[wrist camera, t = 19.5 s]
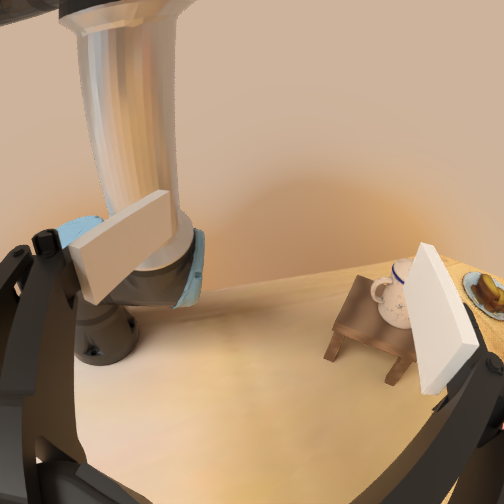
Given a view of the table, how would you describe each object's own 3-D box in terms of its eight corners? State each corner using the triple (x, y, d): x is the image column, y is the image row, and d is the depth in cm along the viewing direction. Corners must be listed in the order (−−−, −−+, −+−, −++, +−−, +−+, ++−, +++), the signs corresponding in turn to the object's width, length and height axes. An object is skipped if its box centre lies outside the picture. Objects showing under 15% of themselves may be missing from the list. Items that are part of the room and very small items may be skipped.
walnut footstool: (320, 358, 47) (335, 321, 42) (344, 310, 59) (357, 274, 54) (395, 388, 41) (421, 355, 35) (406, 334, 53) (425, 300, 47)
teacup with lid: (410, 299, 48) (432, 249, 42) (425, 331, 40) (454, 278, 34) (357, 294, 48) (376, 239, 42) (367, 329, 41) (393, 270, 35)
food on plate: (525, 317, 53) (499, 322, 49) (505, 332, 61) (475, 339, 57) (501, 259, 69) (471, 251, 64) (484, 275, 77) (451, 270, 72)
